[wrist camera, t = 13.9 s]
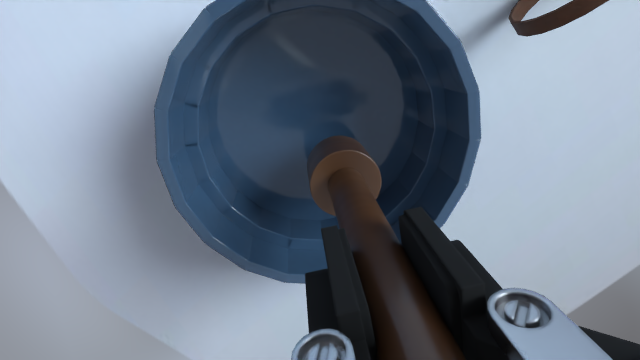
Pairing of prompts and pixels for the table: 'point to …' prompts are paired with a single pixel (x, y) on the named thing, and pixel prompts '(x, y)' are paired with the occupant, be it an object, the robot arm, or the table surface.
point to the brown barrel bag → (549, 16)
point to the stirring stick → (378, 255)
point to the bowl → (310, 120)
